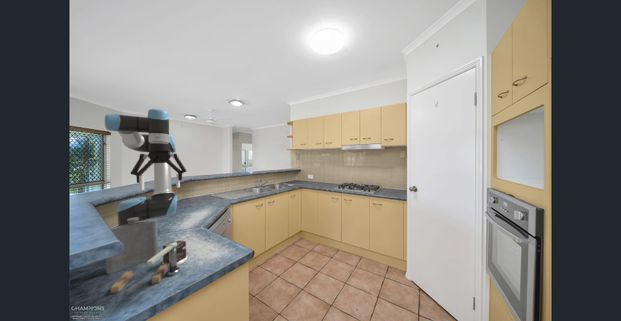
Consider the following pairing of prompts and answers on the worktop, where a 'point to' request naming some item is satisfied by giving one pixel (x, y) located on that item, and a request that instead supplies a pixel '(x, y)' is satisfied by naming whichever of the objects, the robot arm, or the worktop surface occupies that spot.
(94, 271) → the worktop surface
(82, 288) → the worktop surface
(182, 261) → the trivet
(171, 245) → the bar
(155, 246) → the hip flask
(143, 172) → the robot arm
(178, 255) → the box
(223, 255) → the worktop surface
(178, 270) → the latch post
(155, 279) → the cradle
